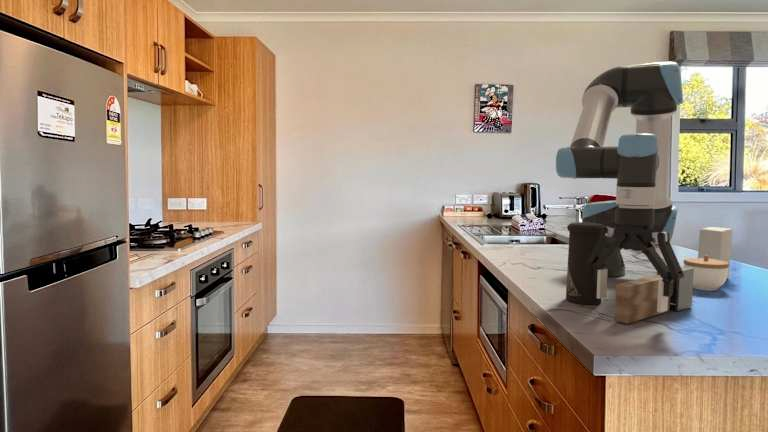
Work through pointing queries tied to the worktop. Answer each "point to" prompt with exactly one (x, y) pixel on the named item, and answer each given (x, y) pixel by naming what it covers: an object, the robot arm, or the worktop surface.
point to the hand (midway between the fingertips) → (630, 304)
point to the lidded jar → (707, 272)
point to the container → (582, 263)
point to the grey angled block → (683, 290)
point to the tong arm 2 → (640, 300)
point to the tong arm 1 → (619, 295)
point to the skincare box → (715, 244)
